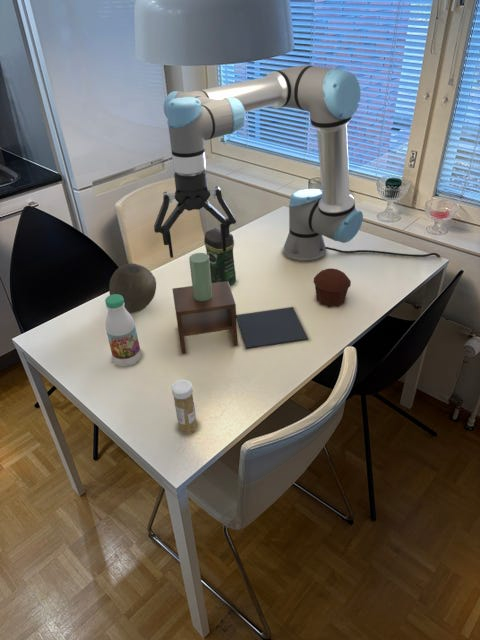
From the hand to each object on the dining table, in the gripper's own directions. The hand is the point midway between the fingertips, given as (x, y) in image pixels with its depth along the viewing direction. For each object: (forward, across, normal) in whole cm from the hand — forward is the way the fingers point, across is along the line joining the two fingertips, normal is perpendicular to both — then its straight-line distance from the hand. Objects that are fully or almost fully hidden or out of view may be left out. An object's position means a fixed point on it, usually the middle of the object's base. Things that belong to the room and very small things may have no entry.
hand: (197, 252), depth 127 cm
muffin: (+28, -41, -10) cm, 51 cm away
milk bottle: (+28, +23, +4) cm, 36 cm away
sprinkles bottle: (+28, +9, +33) cm, 44 cm away
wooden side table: (+28, 0, 0) cm, 28 cm away
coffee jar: (+28, -9, -29) cm, 42 cm away
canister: (+14, 0, 0) cm, 14 cm away
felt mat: (+28, -19, 0) cm, 34 cm away
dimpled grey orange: (+28, +20, -20) cm, 40 cm away
